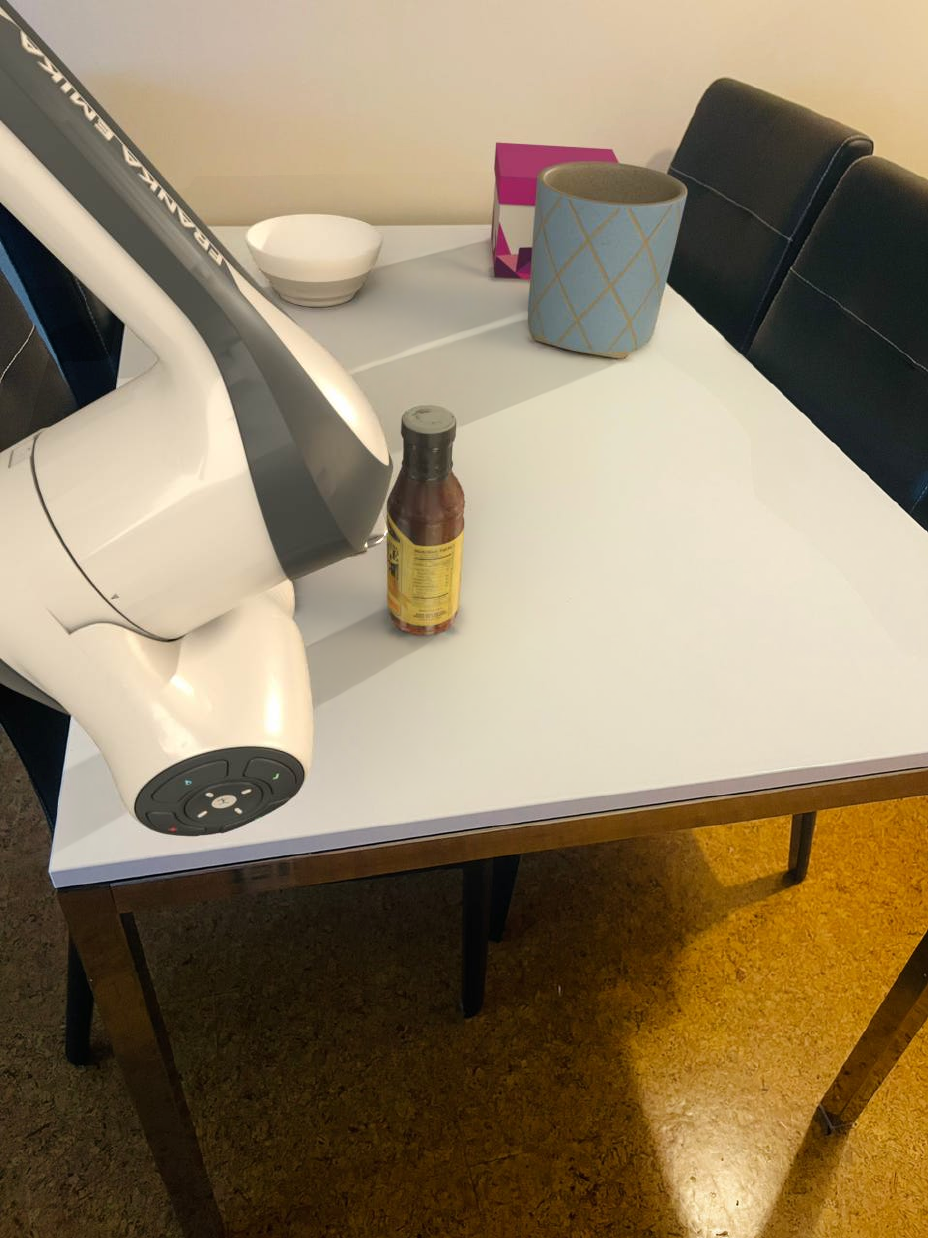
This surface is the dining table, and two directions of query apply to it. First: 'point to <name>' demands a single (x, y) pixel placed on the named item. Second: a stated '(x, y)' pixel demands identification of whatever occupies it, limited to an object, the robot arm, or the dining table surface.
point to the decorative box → (524, 199)
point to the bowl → (314, 256)
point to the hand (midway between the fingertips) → (195, 438)
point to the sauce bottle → (425, 525)
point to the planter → (601, 254)
